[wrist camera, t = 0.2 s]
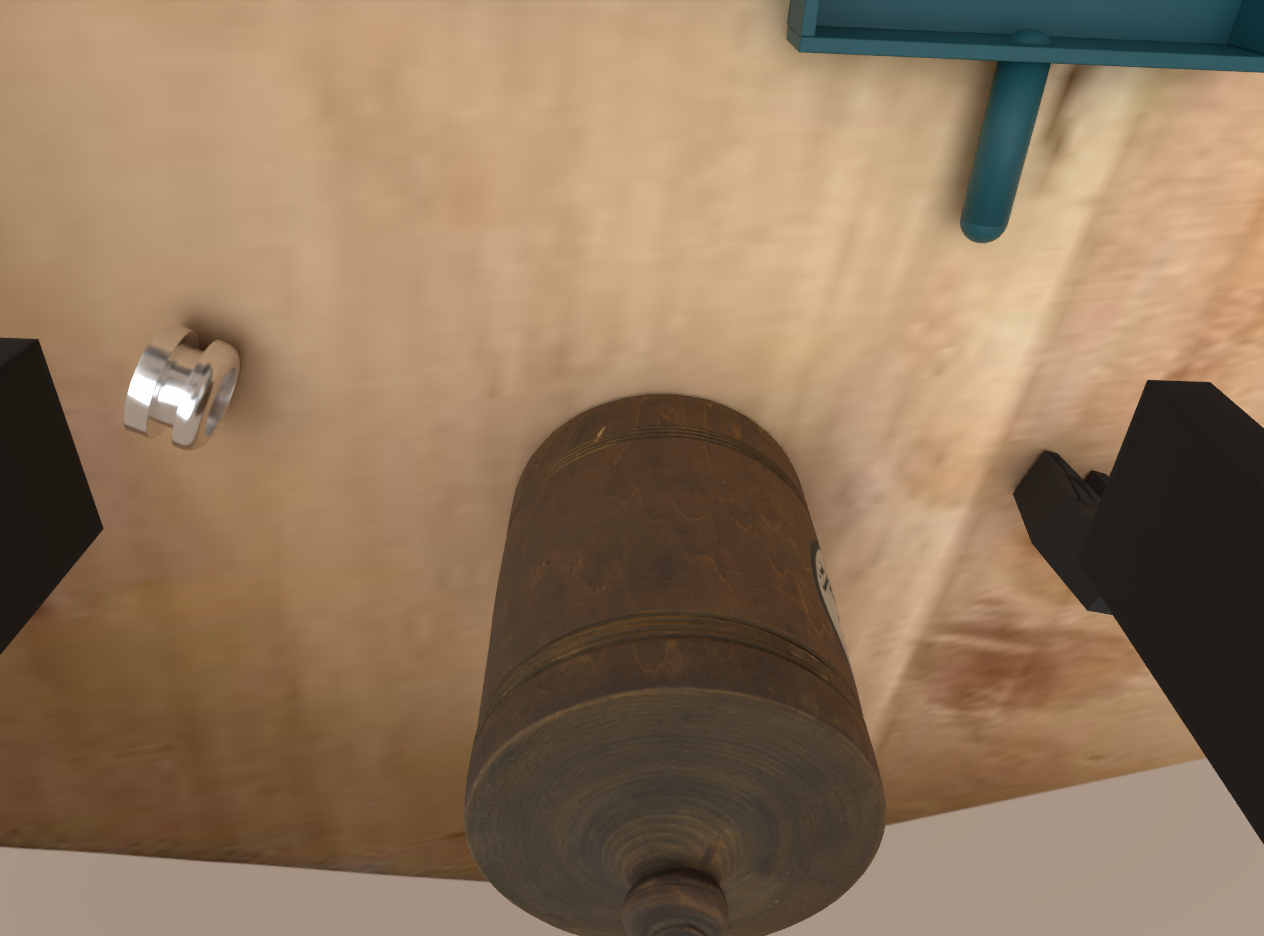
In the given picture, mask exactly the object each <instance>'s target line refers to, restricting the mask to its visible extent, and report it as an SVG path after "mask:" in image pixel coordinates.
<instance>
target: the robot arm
mask: <svg viewBox="0 0 1264 936" xmlns="http://www.w3.org/2000/svg"><path fill="white" fill-rule="evenodd" d="M102 530H103V526H102V523H101V520H100V517H99V514H98V511H97V508H96V505H95V503H94V500H93V497H92V494H91V491H90V488H89V485H88V482H87V479H86V476H85V473H84V471H83V468H82V465H81V462H80V459H79V456H78V453H77V450H76V447H75V444H74V442H73V439H72V436H71V433H70V430H69V427H68V424H67V421H66V418H65V415H64V412H63V410H62V407H61V404H60V401H59V398H58V395H57V392H56V389H55V386H54V383H53V380H52V378H51V375H50V372H49V369H48V366H47V363H46V360H45V357H44V354H43V351H42V348H41V346H40V343H39V340H38V339H20V338H0V655H1V653H2V652H3V651H4V650H5V649H6V647H7V646H8V645H9V644H10V642H11V641H12V640H13V639H14V638H15V636H16V635H17V634H18V633H19V631H20V630H21V629H22V628H23V627H24V625H25V624H26V623H27V622H28V620H29V619H30V618H31V617H32V616H33V614H34V613H35V612H36V611H37V609H38V608H39V607H40V606H41V605H42V603H43V602H44V601H45V600H46V598H47V597H48V596H49V595H50V594H51V592H52V591H53V590H54V589H55V587H56V586H57V585H58V584H59V583H60V581H61V580H62V579H63V578H64V576H65V575H66V574H67V573H68V572H69V570H70V569H71V568H72V567H73V565H74V564H75V563H76V562H77V561H78V559H79V558H80V557H81V556H82V554H83V553H84V552H85V551H86V550H87V548H88V547H89V546H90V545H91V543H92V542H93V541H94V540H95V539H96V537H97V536H98V535H99V534H100V532H101V531H102ZM1077 561H1078V563H1079V564H1080V566H1081V567H1082V569H1083V570H1084V572H1085V573H1086V575H1087V576H1088V578H1089V579H1090V581H1091V582H1092V584H1093V586H1094V587H1095V589H1096V590H1097V592H1098V593H1099V595H1100V596H1101V598H1102V599H1103V601H1104V602H1105V604H1106V605H1107V607H1108V608H1109V610H1110V611H1111V613H1112V614H1113V616H1114V617H1115V619H1116V620H1117V622H1118V624H1119V625H1120V627H1121V628H1122V630H1123V631H1124V633H1125V634H1126V636H1127V637H1128V639H1129V640H1130V642H1131V643H1132V645H1133V646H1134V648H1135V649H1136V651H1137V652H1138V654H1139V655H1140V657H1141V658H1142V660H1143V662H1144V663H1145V665H1146V666H1147V668H1148V669H1149V671H1150V672H1151V674H1152V675H1153V677H1154V678H1155V680H1156V681H1157V683H1158V684H1159V686H1160V687H1161V689H1162V690H1163V692H1164V693H1165V695H1166V696H1167V698H1168V700H1169V701H1170V703H1171V704H1172V706H1173V707H1174V709H1175V710H1176V712H1177V713H1178V715H1179V716H1180V718H1181V719H1182V721H1183V722H1184V724H1185V725H1186V727H1187V728H1188V730H1189V731H1190V733H1191V734H1192V736H1193V738H1194V739H1195V741H1196V742H1197V744H1198V745H1199V747H1200V748H1201V750H1202V751H1203V753H1204V754H1205V756H1206V757H1207V759H1208V760H1209V762H1210V763H1211V765H1212V766H1213V768H1214V769H1215V771H1216V772H1217V774H1218V775H1219V777H1220V778H1221V780H1222V782H1223V783H1224V785H1225V786H1226V788H1227V789H1228V791H1229V792H1230V794H1231V795H1232V797H1233V798H1234V800H1235V801H1236V803H1237V804H1238V806H1239V807H1240V809H1241V810H1242V812H1243V813H1244V815H1245V816H1246V818H1247V819H1248V821H1249V823H1250V824H1251V826H1252V827H1253V829H1254V830H1255V832H1256V833H1257V835H1258V836H1259V838H1260V839H1261V841H1262V842H1263V844H1264V428H1263V427H1262V426H1260V425H1259V424H1258V423H1257V422H1256V421H1255V420H1253V419H1252V418H1251V417H1250V416H1249V415H1248V414H1246V413H1245V412H1244V411H1243V410H1242V409H1241V408H1240V407H1238V406H1237V405H1236V404H1235V403H1234V402H1233V401H1231V400H1230V399H1229V398H1228V397H1227V396H1226V395H1224V394H1223V393H1222V392H1221V391H1220V390H1219V389H1217V388H1216V387H1215V386H1214V385H1213V384H1212V383H1211V382H1189V381H1162V380H1147V382H1146V385H1145V387H1144V390H1143V393H1142V395H1141V398H1140V400H1139V403H1138V405H1137V408H1136V410H1135V413H1134V415H1133V418H1132V421H1131V423H1130V426H1129V428H1128V431H1127V433H1126V436H1125V438H1124V441H1123V443H1122V446H1121V449H1120V451H1119V454H1118V456H1117V459H1116V461H1115V464H1114V466H1113V469H1112V472H1111V474H1110V477H1109V479H1108V482H1107V484H1106V487H1105V489H1104V492H1103V494H1102V497H1101V500H1100V502H1099V505H1098V507H1097V510H1096V512H1095V515H1094V517H1093V520H1092V522H1091V525H1090V528H1089V530H1088V533H1087V535H1086V538H1085V540H1084V543H1083V545H1082V548H1081V551H1080V553H1079V556H1078V558H1077Z"/></svg>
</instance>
